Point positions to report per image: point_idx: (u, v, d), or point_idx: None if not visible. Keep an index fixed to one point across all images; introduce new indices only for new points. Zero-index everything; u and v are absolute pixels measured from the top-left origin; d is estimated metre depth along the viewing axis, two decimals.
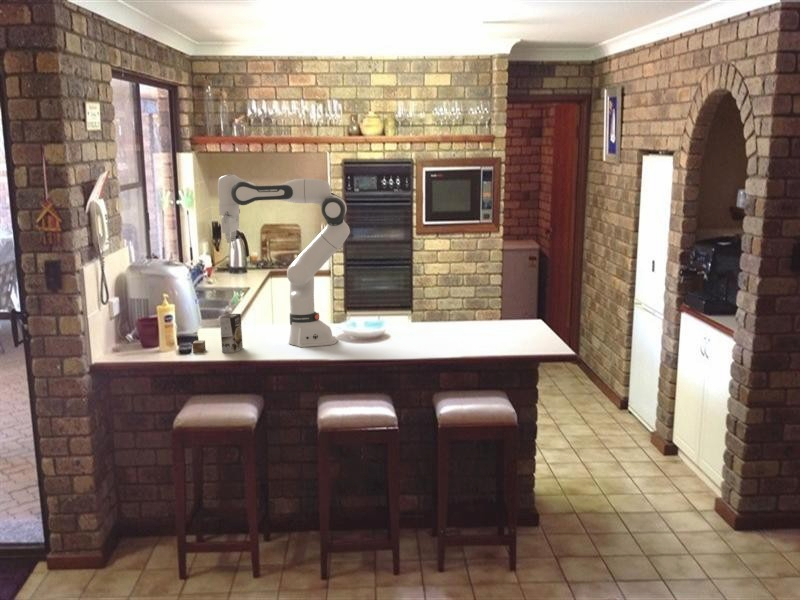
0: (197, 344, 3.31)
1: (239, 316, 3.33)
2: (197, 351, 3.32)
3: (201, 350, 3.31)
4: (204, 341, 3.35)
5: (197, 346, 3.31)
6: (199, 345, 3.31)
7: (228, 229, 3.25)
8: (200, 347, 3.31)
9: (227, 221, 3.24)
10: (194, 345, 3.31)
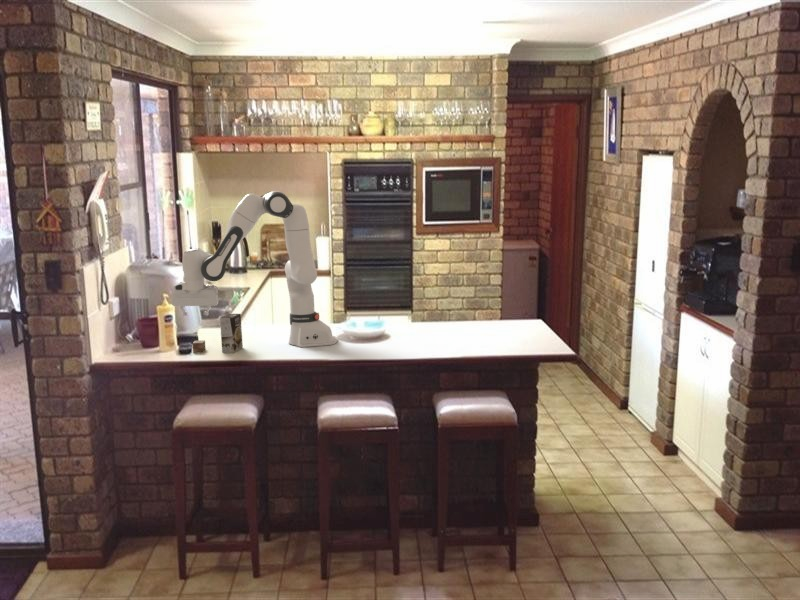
0: (197, 344, 3.31)
1: (239, 316, 3.33)
2: (197, 351, 3.32)
3: (201, 350, 3.31)
4: (204, 341, 3.35)
5: (197, 346, 3.31)
6: (200, 345, 3.31)
7: None
8: (200, 347, 3.31)
9: None
10: (194, 345, 3.31)
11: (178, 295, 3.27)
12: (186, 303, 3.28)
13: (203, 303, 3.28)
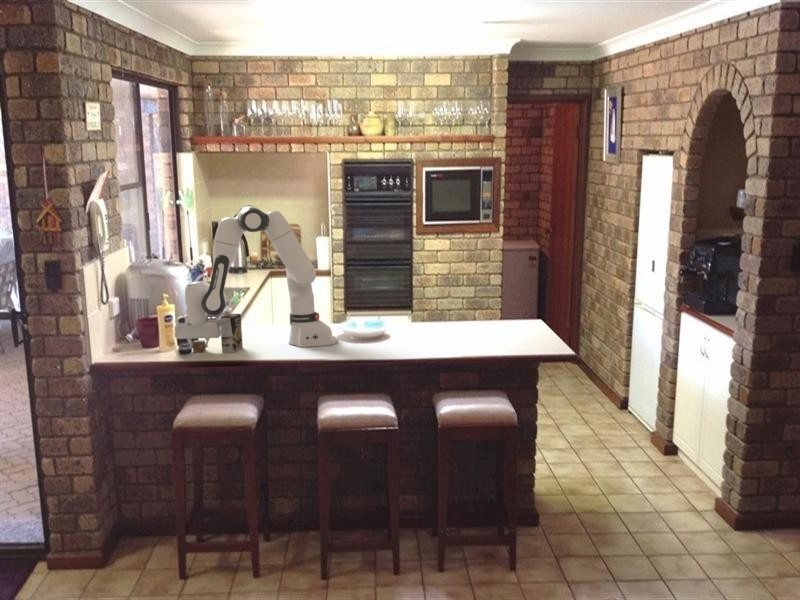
0: (197, 344, 3.31)
1: (239, 316, 3.33)
2: (197, 351, 3.32)
3: (201, 350, 3.31)
4: (204, 341, 3.34)
5: (197, 345, 3.31)
6: (199, 345, 3.31)
7: (220, 332, 3.34)
8: (200, 346, 3.31)
9: None
10: (194, 345, 3.31)
11: (181, 328, 3.30)
12: (189, 335, 3.31)
13: (206, 335, 3.31)
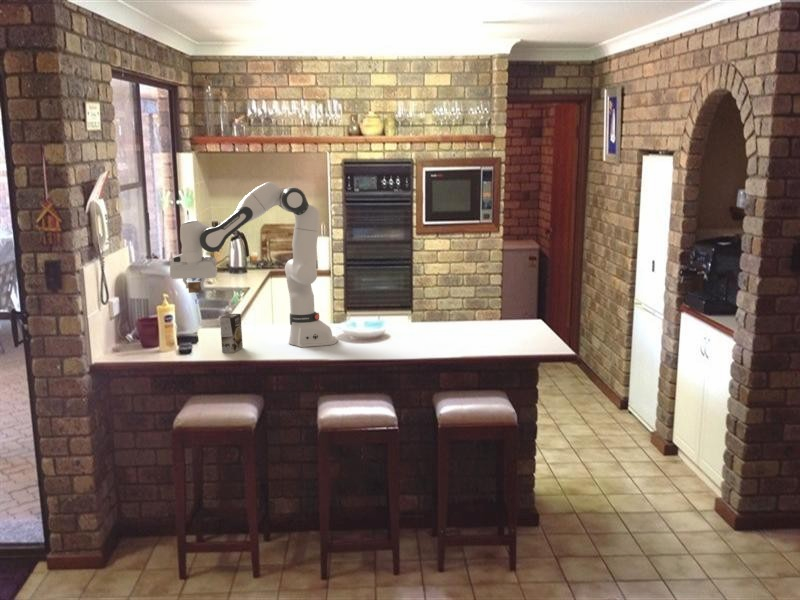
0: (193, 284, 3.26)
1: (239, 316, 3.33)
2: (193, 291, 3.26)
3: (197, 290, 3.26)
4: (200, 281, 3.29)
5: (192, 285, 3.26)
6: (195, 285, 3.26)
7: (216, 272, 3.28)
8: (196, 286, 3.26)
9: None
10: (190, 285, 3.26)
11: (176, 267, 3.25)
12: (184, 275, 3.25)
13: (202, 275, 3.25)
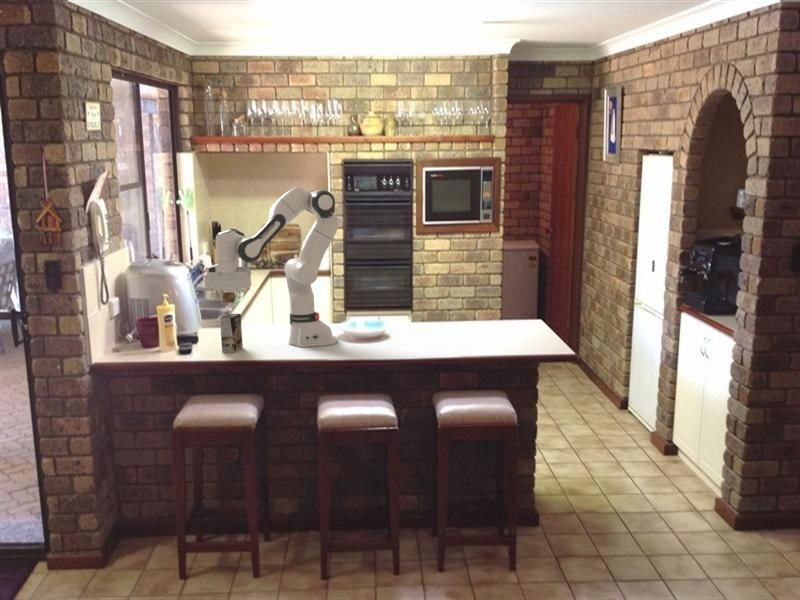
0: (227, 294, 3.27)
1: (239, 316, 3.33)
2: (227, 301, 3.27)
3: (231, 300, 3.27)
4: (234, 291, 3.30)
5: (227, 295, 3.27)
6: (230, 295, 3.27)
7: None
8: (230, 297, 3.27)
9: None
10: (224, 295, 3.27)
11: (211, 278, 3.26)
12: (219, 285, 3.26)
13: (236, 285, 3.27)
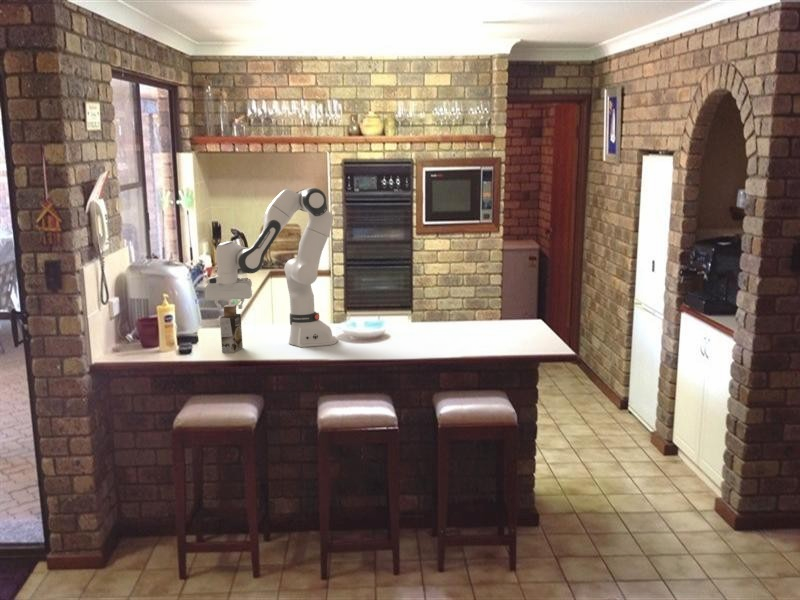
0: (228, 308, 3.28)
1: (239, 316, 3.33)
2: (228, 315, 3.29)
3: (232, 314, 3.29)
4: (235, 305, 3.32)
5: (228, 309, 3.28)
6: (231, 309, 3.28)
7: (251, 293, 3.30)
8: (231, 310, 3.28)
9: None
10: (225, 309, 3.28)
11: (212, 289, 3.27)
12: (220, 296, 3.27)
13: (237, 296, 3.28)
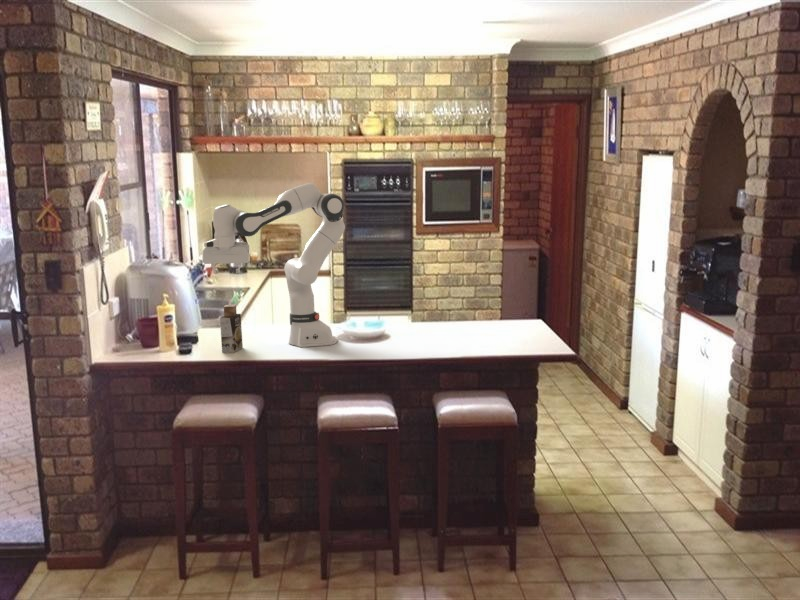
0: (228, 308, 3.28)
1: (239, 316, 3.33)
2: (228, 315, 3.29)
3: (232, 314, 3.29)
4: (235, 305, 3.32)
5: (228, 309, 3.28)
6: (231, 309, 3.28)
7: (249, 257, 3.28)
8: (231, 310, 3.28)
9: None
10: (225, 309, 3.28)
11: (209, 253, 3.24)
12: (217, 260, 3.24)
13: (234, 260, 3.25)
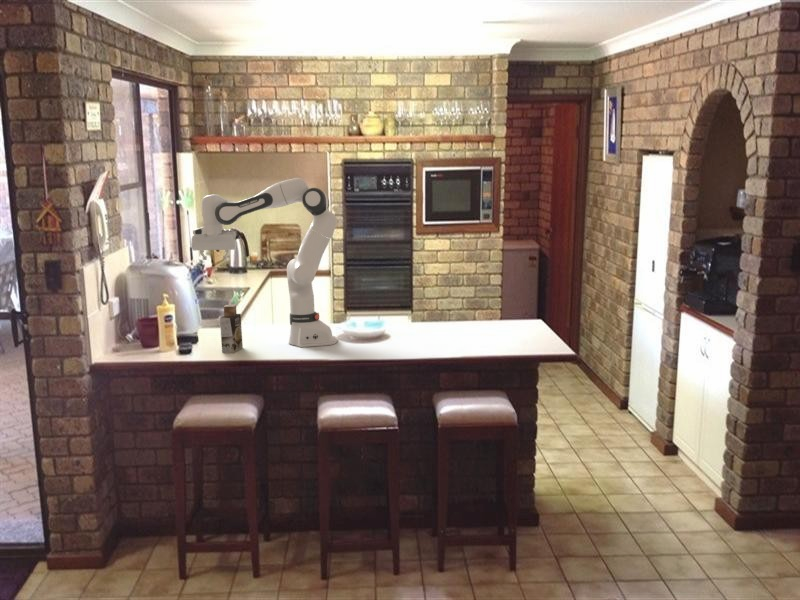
0: (228, 308, 3.28)
1: (239, 316, 3.33)
2: (228, 315, 3.29)
3: (232, 314, 3.29)
4: (235, 305, 3.31)
5: (228, 309, 3.28)
6: (231, 309, 3.28)
7: None
8: (231, 310, 3.28)
9: (234, 237, 3.42)
10: (225, 309, 3.28)
11: (197, 240, 3.40)
12: (205, 247, 3.40)
13: (222, 247, 3.40)
